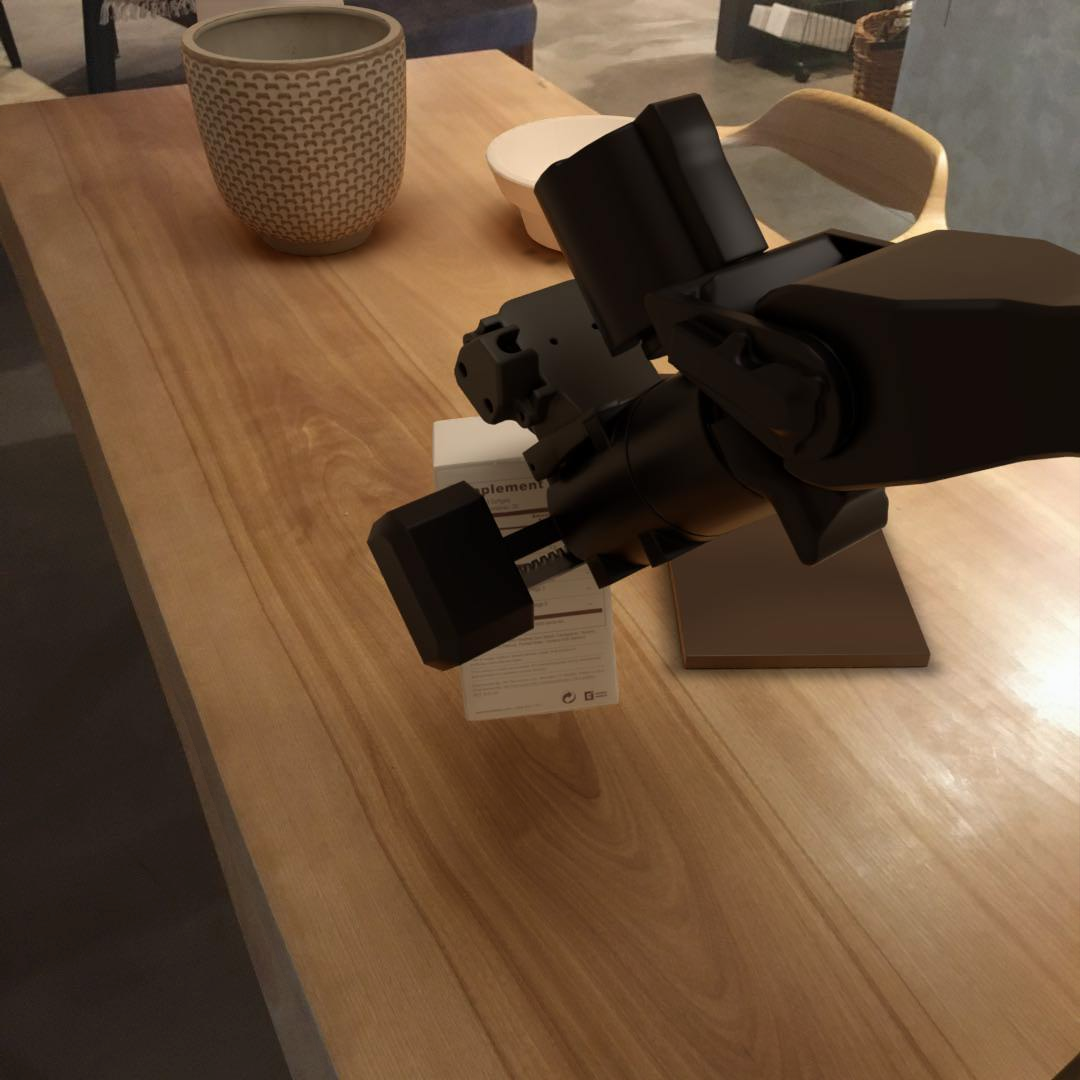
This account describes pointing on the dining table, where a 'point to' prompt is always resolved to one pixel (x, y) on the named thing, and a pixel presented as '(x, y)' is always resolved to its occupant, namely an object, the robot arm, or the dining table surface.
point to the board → (792, 604)
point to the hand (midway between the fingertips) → (519, 551)
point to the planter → (302, 119)
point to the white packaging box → (559, 605)
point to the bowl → (541, 160)
